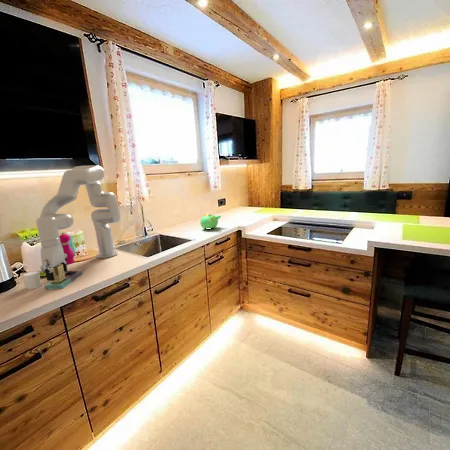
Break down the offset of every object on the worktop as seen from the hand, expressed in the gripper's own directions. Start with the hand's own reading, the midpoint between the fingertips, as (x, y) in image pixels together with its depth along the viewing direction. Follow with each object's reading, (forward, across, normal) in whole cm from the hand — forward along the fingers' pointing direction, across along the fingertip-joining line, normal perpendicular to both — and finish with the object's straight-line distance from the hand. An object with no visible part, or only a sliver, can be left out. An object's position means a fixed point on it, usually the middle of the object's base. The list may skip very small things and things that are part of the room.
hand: (57, 276), depth 114 cm
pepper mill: (+5, -32, -15) cm, 36 cm away
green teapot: (+5, -106, +72) cm, 128 cm away
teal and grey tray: (+5, -4, 0) cm, 7 cm away
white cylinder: (+5, 0, -13) cm, 14 cm away
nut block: (+5, 0, 0) cm, 5 cm away
